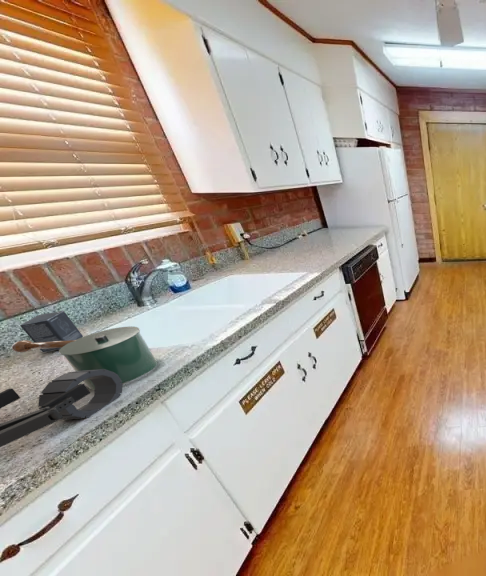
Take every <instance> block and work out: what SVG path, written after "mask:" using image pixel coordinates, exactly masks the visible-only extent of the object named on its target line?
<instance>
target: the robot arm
mask: <svg viewBox="0 0 486 576" xmlns="http://www.w3.org/2000/svg"><path fill="white" fill-rule="evenodd" d="M90 394H91V391H90V390H89V388H88V387H87V386H86V384H85V383H79V384H78V385H77V386H76V387H74V388H72V389H70V390H69V391H67V392H65V393H63V394H62V395H60V396H58V397H56V398H55V399H53V400H51V401H49V402H48V403H46V404H44V405H42V406H41V407H42V409H39V408H38V409H36V410H34V411H31V412H29V413H26V414H23V415H21V416H17V417H14V418H11V419H8V420H7V421H4V422H0V448H1V447H4V446H6V445H8V444H10V443H12V442H15V441H17V440H19V439H22V438H23V437H25V436H28V435H30V434H32V433H34V432H36V431H39V430H41V429H43V428H45V427H47V426H49V425H51V424H54V423H56V422H58V421H61V420H60V419H62V418H63V416H62V415H61V414H60V413H59V412H60V411H62V410H64V409H65V408H67V407H68V406H70V405H72V404H73V405H74V404H75V403H77V402H78V401H80V400H81V399H83V398H85V397H86V396H88V395H90ZM20 399H21V396H20V395H19V394H18V393H17V392H16V391H15V389H14V388H7V389H4V390H3V391H1V392H0V410H1V409H2V408H5V407H6V406H9V405H10V404H12V403H14V402H15V401H18V400H20Z"/></svg>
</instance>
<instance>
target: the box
mask: <svg viewBox="0 0 486 576" xmlns="http://www.w3.org/2000/svg"><path fill="white" fill-rule="evenodd" d="M19 327H20V328H22V330H23V331H24V332H25V333H26V334H27V336H28V338H30V339H31V341H32V342H51V341H69V340H77V339H79V338H82V337H84V335H83V334H82V333H81V331H80V330H79V329H78V328H77V325H75V323H74V322H73V321H72V320H71V318H70V316H68V315H67V313H66V312H65V310H59V311H53V312H48V313H43V314H38V315H35V316H34V317H32V318H31V319H29V320H27V321H25V322H23V323H22V324H21V323H20V325H19ZM60 349H61V348H45V349H39V350H40V351H41V352H42V353H49V352H52V351H59V350H60Z"/></svg>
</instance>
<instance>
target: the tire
mask: <svg viewBox="0 0 486 576" xmlns="http://www.w3.org/2000/svg"><path fill="white" fill-rule="evenodd" d="M86 379H90V380H91V381H92V383H93V384H94V385H95V390H94V395H93V396H92V397H91V399H90V400H89V402H88V403H87V404H86V405H84V406H82V407H81V408H79V409H77V407H76V406H75V405H74V403H73V404H72V405H70V406H68V407H67V408H65V409H64V410H62V411H60V412H59V413H60V414H61V415H62V416H63V418H62V419H60V420H59V421H67V420H78V419H88V418H91V417H92V416H93V415H96V414H97V413H98V412H100V411H101V410H102V409H104V408H105V407H107V406H109V405H110V404H112V403H113V402H115V401H116V400H118V399H119V398H120V397H121V396H122V393H123V384H124V383H121V382H122V380H121V379H120V378H119V376H118V375H117V374H115V373H114V372H111V371H108V370H106V369H105V370H104V369H100V370H84V371H75V370H74V371H69V372H68V371H67V372H65V373H63V374H61V375H59V376H58V377H55V378H54V379H52V380H51V381H49V382H48V383H47V384H46V386H45V387H44V388H43V389H42V390H41V392H40V394H39V395H38V405H37V406H38V407H39V408H38V410H39V409H42V407H41V406H42V405H44V404H46V403H48V402H49V401H51V400H53V399H55V398H56V397H58V396H60V395H62V394H63V393H65V392H67V391H69V390H70V389H72V388H74V387H76V386H77V385H79V384H82V382H83V381H84V380H86Z"/></svg>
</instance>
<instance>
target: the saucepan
mask: <svg viewBox="0 0 486 576" xmlns="http://www.w3.org/2000/svg"><path fill="white" fill-rule="evenodd" d="M45 348H61V349H58V353H59V354H60V355H61V356H63V357H64V358H65V359H66V361H67V362H68V363H69V365H70V366H71V367H72V369H73V370H74V372H75V371H84V370H100V369H104V370H105V369H106V370H108V371H111V372H114V373H115V374H117V375H118V376H119V378H120V379H121V380H122V382H121V383H123V384H126V383H128V382H131V381H133V380H135V379H137V378H140V377H142V376H144V375H145V374H147V373H149V372H150V371H152V370H153V369H155V368H156V366H157V365H158V360H157V359H156V357H155V355H154V354H153V352H152V351H151V349H150V347H149V345H148V344H147V342H146V340H145V339H144V337H143V335H142V334H141V329H140V328H139V327H137V326H120V327H114V328H109V329H105V330H101V331H97V332H93V333H91V334H87V335H83V337H82V338H79V339H77V340H69V341H51V342H34V341H33V340H27V339H26V340H25V339H23V340H18V341H15V342H14V343H13V344H12V345H11V350H13V352H16V353H28V352H30V351H32V350H40V349H45ZM82 382H83V384H84V385H85V386H86V387H87V389H88V390H89V389H90V390H94V391H95V385H94V384H93V383H92V381H91V380H90V379H86V380H84V381H82Z"/></svg>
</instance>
